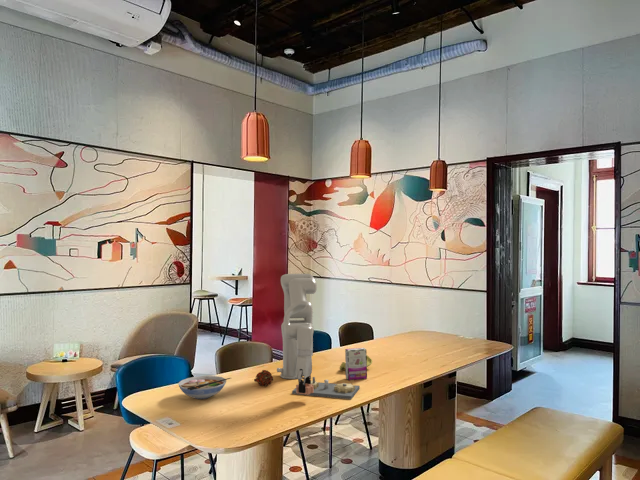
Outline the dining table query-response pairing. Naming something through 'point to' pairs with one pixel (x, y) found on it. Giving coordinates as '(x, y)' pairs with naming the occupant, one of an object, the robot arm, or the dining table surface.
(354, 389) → the gear board
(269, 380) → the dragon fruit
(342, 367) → the plastic component
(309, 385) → the idler gear
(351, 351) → the candy bar box
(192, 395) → the ramen bowl
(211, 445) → the dining table surface
